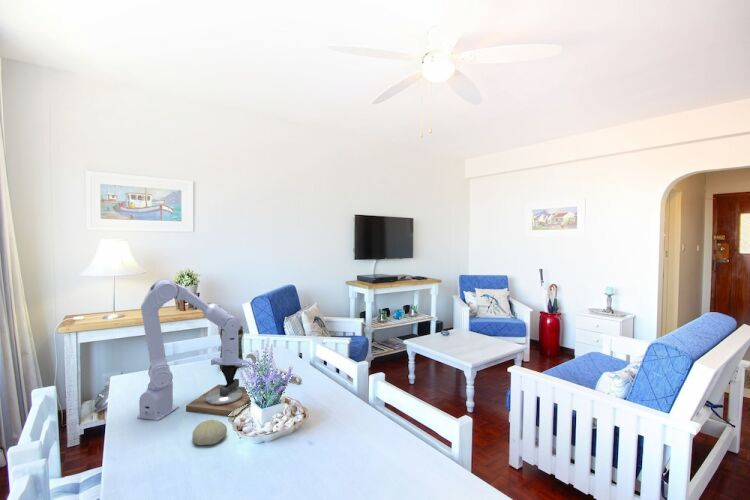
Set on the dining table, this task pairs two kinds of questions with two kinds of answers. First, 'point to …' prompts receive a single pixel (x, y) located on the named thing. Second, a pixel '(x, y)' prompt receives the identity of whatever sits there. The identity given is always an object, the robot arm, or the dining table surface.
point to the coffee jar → (240, 335)
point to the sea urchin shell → (209, 432)
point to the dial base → (222, 410)
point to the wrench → (293, 378)
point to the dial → (225, 394)
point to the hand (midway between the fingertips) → (230, 384)
